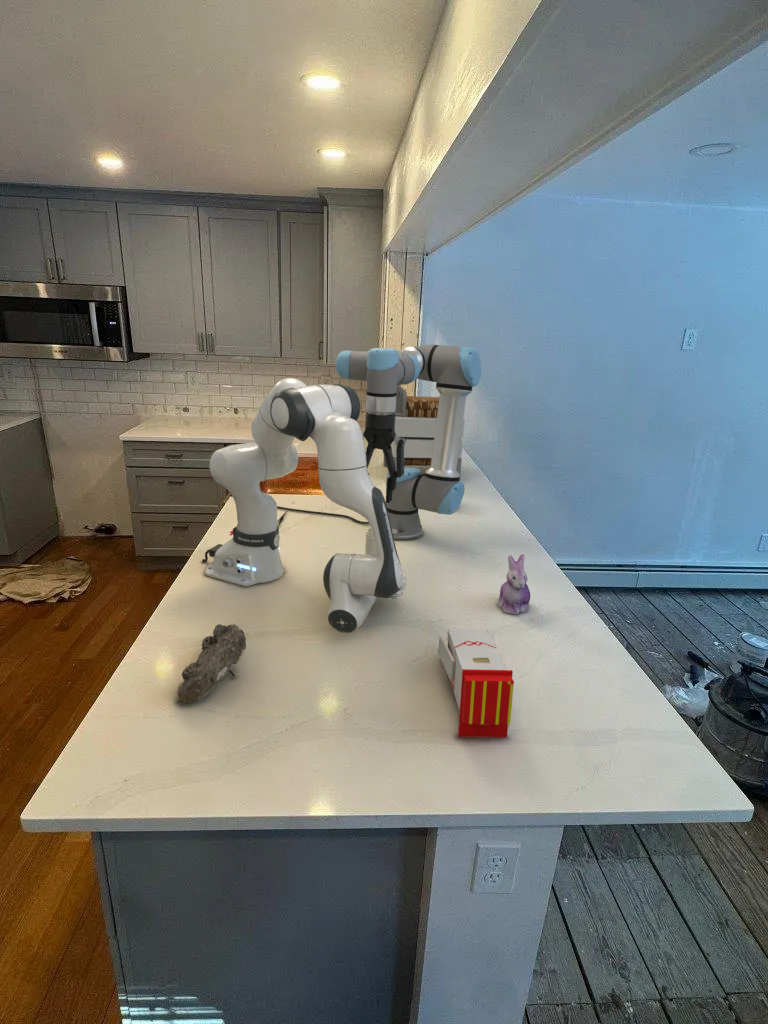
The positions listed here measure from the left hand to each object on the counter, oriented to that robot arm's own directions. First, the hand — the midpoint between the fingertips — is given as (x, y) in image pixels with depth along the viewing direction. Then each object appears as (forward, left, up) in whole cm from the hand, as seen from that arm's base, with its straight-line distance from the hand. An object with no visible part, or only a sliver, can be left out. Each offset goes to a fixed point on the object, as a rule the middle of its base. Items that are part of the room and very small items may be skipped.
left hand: (374, 569), depth 158 cm
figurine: (+39, +2, -6) cm, 39 cm away
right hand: (0, -1, +21) cm, 21 cm away
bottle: (0, 0, -6) cm, 6 cm away
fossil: (-22, -48, -6) cm, 53 cm away
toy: (+31, -38, -6) cm, 49 cm away
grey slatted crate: (-10, +123, -6) cm, 124 cm away
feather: (-47, +47, -6) cm, 67 cm away
